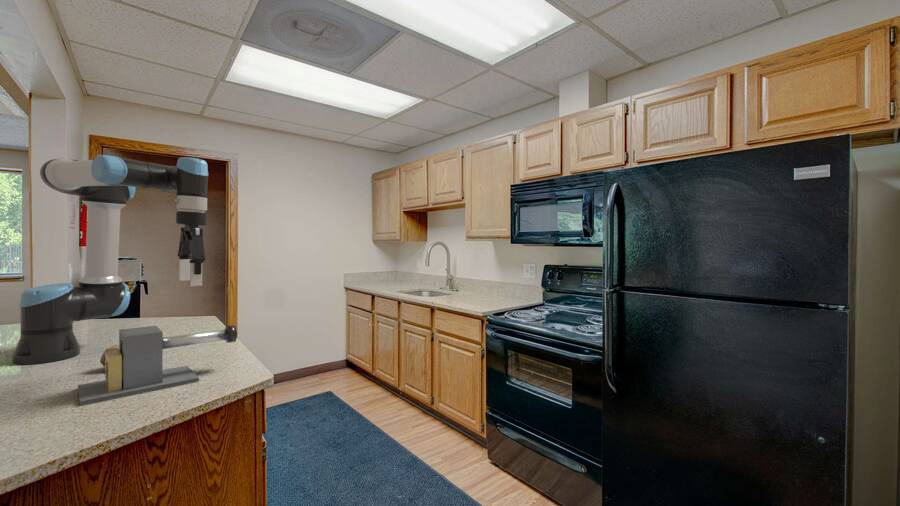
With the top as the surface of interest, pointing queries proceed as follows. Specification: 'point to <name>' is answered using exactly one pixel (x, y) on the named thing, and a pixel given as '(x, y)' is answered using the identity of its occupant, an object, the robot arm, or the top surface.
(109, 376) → the block
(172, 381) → the mat
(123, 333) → the bearing block
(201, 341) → the shaft
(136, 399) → the top surface
